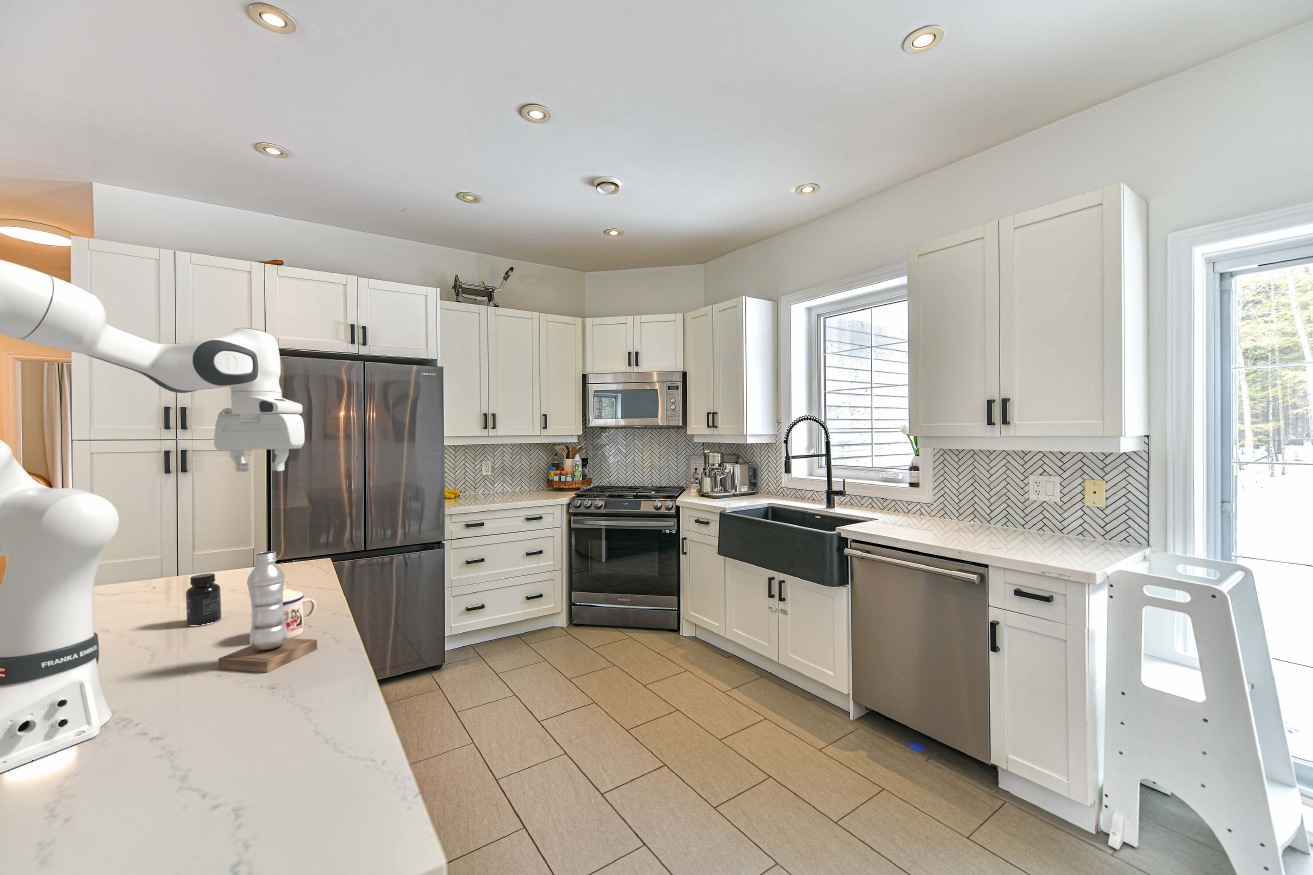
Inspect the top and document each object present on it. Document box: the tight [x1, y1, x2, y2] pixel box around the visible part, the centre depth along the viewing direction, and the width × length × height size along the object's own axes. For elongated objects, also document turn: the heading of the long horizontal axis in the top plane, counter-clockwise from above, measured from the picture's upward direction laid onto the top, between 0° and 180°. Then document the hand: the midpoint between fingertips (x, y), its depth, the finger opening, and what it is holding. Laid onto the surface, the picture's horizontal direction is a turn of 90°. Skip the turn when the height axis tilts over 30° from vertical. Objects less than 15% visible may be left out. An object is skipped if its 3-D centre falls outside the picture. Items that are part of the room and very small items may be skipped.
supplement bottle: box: [185, 572, 222, 626], centre depth 143 cm, size 7×7×12 cm
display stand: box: [218, 637, 318, 673], centre depth 118 cm, size 12×12×2 cm
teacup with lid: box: [282, 585, 317, 638], centre depth 132 cm, size 12×9×12 cm
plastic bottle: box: [246, 550, 288, 651], centre depth 117 cm, size 6×7×20 cm
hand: (260, 471), depth 120 cm, fingers open, 8 cm apart
